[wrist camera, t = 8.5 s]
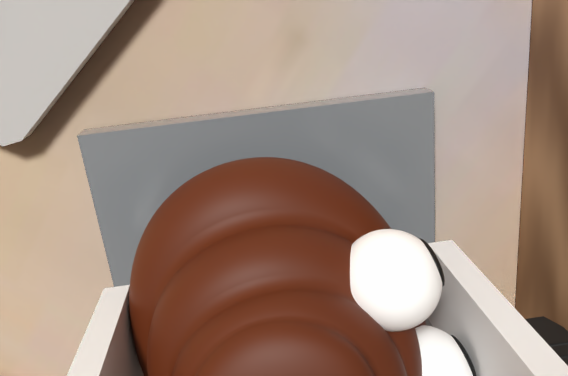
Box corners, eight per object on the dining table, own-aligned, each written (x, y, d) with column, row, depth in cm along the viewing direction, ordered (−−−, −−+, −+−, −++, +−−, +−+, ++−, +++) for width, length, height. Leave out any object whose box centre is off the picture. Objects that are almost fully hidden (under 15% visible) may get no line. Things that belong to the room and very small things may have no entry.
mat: (83, 129, 17) (77, 135, 16) (424, 87, 17) (433, 91, 17) (150, 406, 20) (147, 421, 20) (428, 363, 21) (435, 377, 20)
